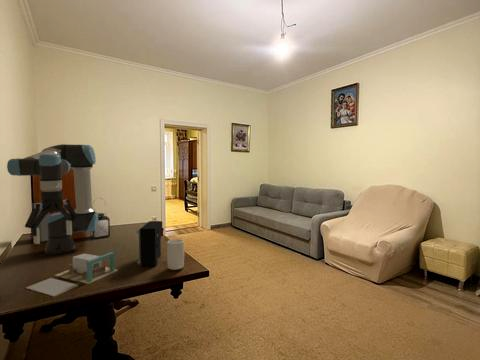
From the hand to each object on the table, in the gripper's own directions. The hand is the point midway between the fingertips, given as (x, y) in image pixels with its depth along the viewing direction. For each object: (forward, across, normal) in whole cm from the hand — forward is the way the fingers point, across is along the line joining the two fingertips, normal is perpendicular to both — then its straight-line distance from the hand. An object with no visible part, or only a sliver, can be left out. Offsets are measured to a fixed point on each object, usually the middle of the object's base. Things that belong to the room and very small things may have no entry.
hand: (54, 238), depth 113 cm
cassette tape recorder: (+22, +40, +78) cm, 90 cm away
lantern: (+22, +62, +49) cm, 82 cm away
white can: (+20, +33, -39) cm, 55 cm away
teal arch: (+20, +12, -13) cm, 27 cm away
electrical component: (+21, +37, -20) cm, 47 cm away
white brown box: (+19, +12, -3) cm, 23 cm away
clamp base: (+20, +12, -3) cm, 24 cm away
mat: (+20, -4, -3) cm, 20 cm away
